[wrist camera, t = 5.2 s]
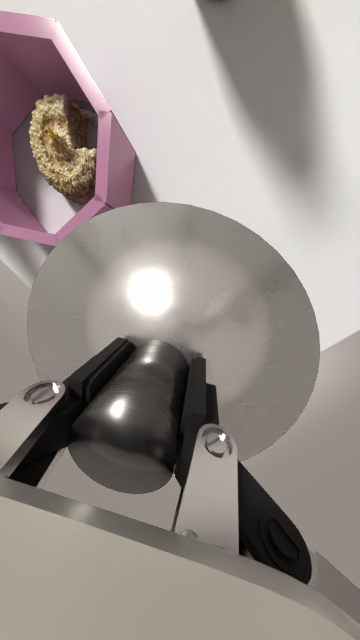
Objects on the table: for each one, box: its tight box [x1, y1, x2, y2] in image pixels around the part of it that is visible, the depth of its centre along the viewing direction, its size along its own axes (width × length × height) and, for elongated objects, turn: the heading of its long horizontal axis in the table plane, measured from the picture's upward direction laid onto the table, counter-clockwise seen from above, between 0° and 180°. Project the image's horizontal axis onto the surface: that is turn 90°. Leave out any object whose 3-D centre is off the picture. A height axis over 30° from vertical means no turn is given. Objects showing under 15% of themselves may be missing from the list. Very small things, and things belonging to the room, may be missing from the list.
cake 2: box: [29, 93, 98, 205], centre depth 20 cm, size 10×10×5 cm
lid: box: [27, 202, 320, 494], centre depth 8 cm, size 17×17×6 cm
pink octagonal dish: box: [0, 11, 136, 246], centre depth 20 cm, size 17×17×6 cm
